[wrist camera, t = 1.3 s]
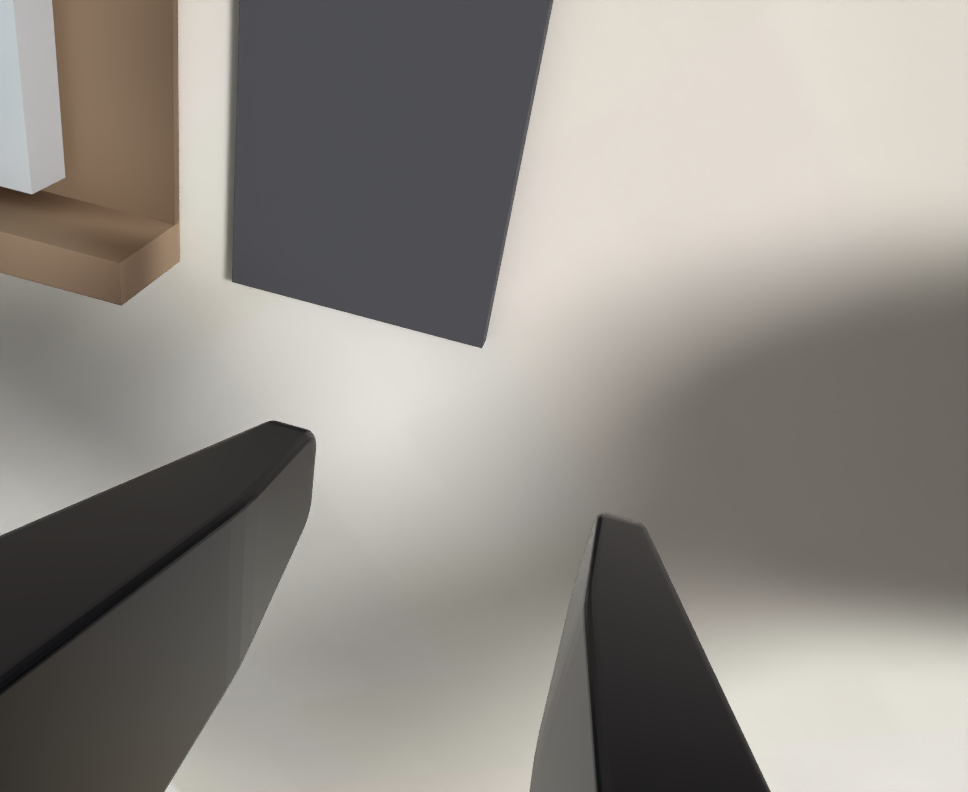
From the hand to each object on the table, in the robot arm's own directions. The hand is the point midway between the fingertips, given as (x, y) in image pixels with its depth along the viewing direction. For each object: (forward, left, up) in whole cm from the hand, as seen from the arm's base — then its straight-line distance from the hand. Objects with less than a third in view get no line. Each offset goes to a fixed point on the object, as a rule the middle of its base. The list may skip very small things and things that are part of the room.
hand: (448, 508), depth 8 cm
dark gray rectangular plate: (+4, +2, -12) cm, 13 cm away
